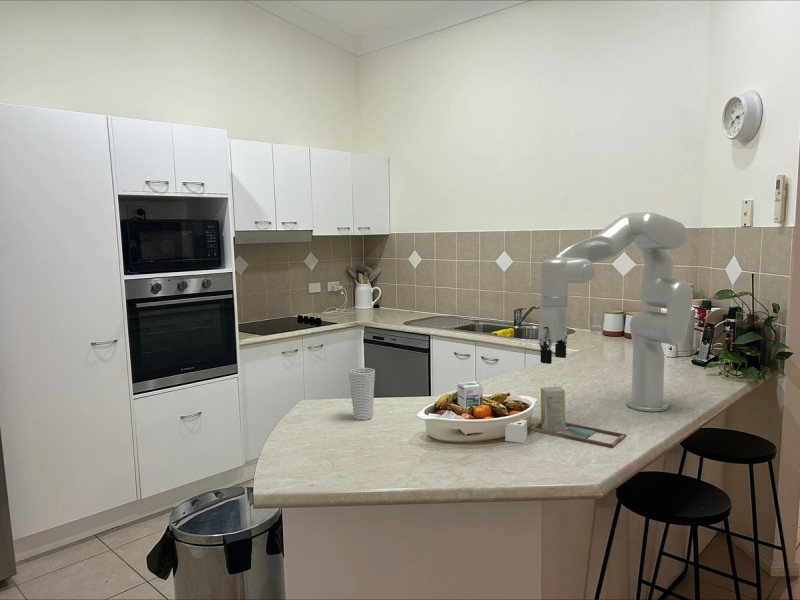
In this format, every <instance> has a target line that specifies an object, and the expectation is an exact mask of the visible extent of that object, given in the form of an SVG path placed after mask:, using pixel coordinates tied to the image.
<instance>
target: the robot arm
mask: <svg viewBox="0 0 800 600" xmlns="http://www.w3.org/2000/svg"><path fill="white" fill-rule="evenodd" d="M687 240H688V230H687V228H686V226H685V225H684V224H683V223H682V222H680V221H678V220H675V219H673V218H669V217H667V216H665V215H662V214H658V213H655V212H651V211H649V212H630V213H629V212H628V213H626V214H623V215H621V216H619V217H618V218H617V219H615V220H614V221H613V222H611V223H610V224H609V225H608V226H606V227H605V228H604V229H602V230H601V231H600V232H598V233H597V234H595V235H592V236H591V237H588V238H586V239H584V240H581V241H579V242H577V243H574V244H572V245H570V246H568V247H567V248H565V249H563V250H562V251H561V252H559V253H558V254H557V255H556V256H554V257H553V258H551V259H544V260H543V261H542V262H541V265H540V312H539V318H538V332H537V333H538V334H537V337H538V338H537V340H538V341H539V342H538V344H539V349H540V363H541V364H547V365H551V364H552V363H553V361H552V359H553V358H552V357H553V354H552V353H553V350H552V345H553V343H555V344H554V349H555V352H554V353H555V354H554V355H555V358H560V359H561V358H562V359H566V358H567V344H568V341H567V339H568V331H569V328H568V317H567V316H568V314H567V313H568V312H567V308H568V307H569V306H568V305H569V304H568V302H569V300H568V299H569V297H568V296H569V295H568V294H569V289H568V287H569V285H568V284H576V285H584V284H587V283H589V282H591V280H592V279H593V278H594V276H595V274H596V267H595V265H594V263H597V262H602V261H607V260H611V259H613V258H615V257H616V256H617V255H618V254H620V253H621V252H622V251H623V250H625V249H626V248H627V247H628V246H630V245H631V244H632V243H635V245H636V246H637V248H638V249H639V251H640V252H641V254H642V257H643V262H644V266H643V275H642V280H641V285H640V286H641V287H640V292H639V293H640V294H639V299H640V301H641V303H642V304H643V305H645V306H647V307H651V308H658V309H665V310H666V312H661V311H653V310H641V311H638V312H636V313H634V314H633V315H632V317H631V318H630V322H629V329H630V335H631V342H632V371H631V373H632V378H631V380H632V381H631V398H629V399H627V400H626V405H627V406H628V407H629V408H631V409H633V410H638V411H642V412H643V411H644V412H653V413H655V412H663V411H667V410H668V409H669V404H668V402H666V401H664V390H665V389H664V386H665V385H664V384H665V381H664V380H665V352H664V348H663V346H662V344H665V345H666V344H668V345H678V344H680V343H682V342H683V341H684V339H685V338H686V336H687V333H688V329H689V323H690V319H691V317H690V316H691V312H692V306H693V298H694V295H693V290H692V286H691V285H690V284H689V283H688V282H687V281H685V280H683V279H677V278H676V279H675V278H673V269H674V261H673V258H672V256H671V254H670V252H669V250H677V249H680V248H682V247H683V246H684V245H685V244H686V242H687ZM661 343H662V344H661Z"/></svg>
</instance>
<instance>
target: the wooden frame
mask: <svg viewBox="0 0 800 600" xmlns="http://www.w3.org/2000/svg"><path fill="white" fill-rule="evenodd" d="M540 427H542V426H541V421H540V422H538V423H537V424H535V425H533V426H532V427H530V432H535V433H541V434H545V435H549V436H555V437H559V438H563V439H567V440H568V439H569V440H573V441H577V442H582V443H587V444H592V445H596V446H601V447H605V448H610V449H613V448H614V447H617V445H618V444H620V443H621V442H622V441H623V440H624V439H626V438H627V434H626V433H621V432H616V431H611V430H606V429H601V428H596V427H592V426H586V425H581V424H576V423H571V422H566V421H565V427H567V428H565V430H562V431H561V432H558V431H557V432H556V431H547V430H544V429H543V428H540ZM596 433H599V434H603V435H604V434H605V435H609V436H615V437H617V438H616V439H615V440H614V441H613V442H610V443H608V442H604V441H600V440H594V439H589V437H591V436H593V435H594V434H596Z"/></svg>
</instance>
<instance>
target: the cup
mask: <svg viewBox="0 0 800 600" xmlns="http://www.w3.org/2000/svg"><path fill="white" fill-rule="evenodd" d="M375 375H376V370H375V369H374V368H371V367H354V368H351V369H349V370H348V378H349V379H348V380H349V386H350V387H349V388H350V395H351V403H352V404H351V405H352V410H353V412H352V413H353V418H354V419H355V420H356V419H357V421H369V420H371V419H373V413H374V398H375V397H374V396H375V378H376V377H375ZM368 419H369V420H368Z"/></svg>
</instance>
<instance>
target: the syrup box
mask: <svg viewBox="0 0 800 600" xmlns="http://www.w3.org/2000/svg"><path fill="white" fill-rule="evenodd" d="M456 386H457V405H458V404H459V405H460V406H461V407H462V408H463V409H465V408H467V407H470V406H479V405H481V404H483V405H484V403H483V402H484V401H483V396H484V394H483V392H484V391H483V385H482V384H481V383H480V382H478V381H475V380H474V381H467V382H457V385H456Z"/></svg>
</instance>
